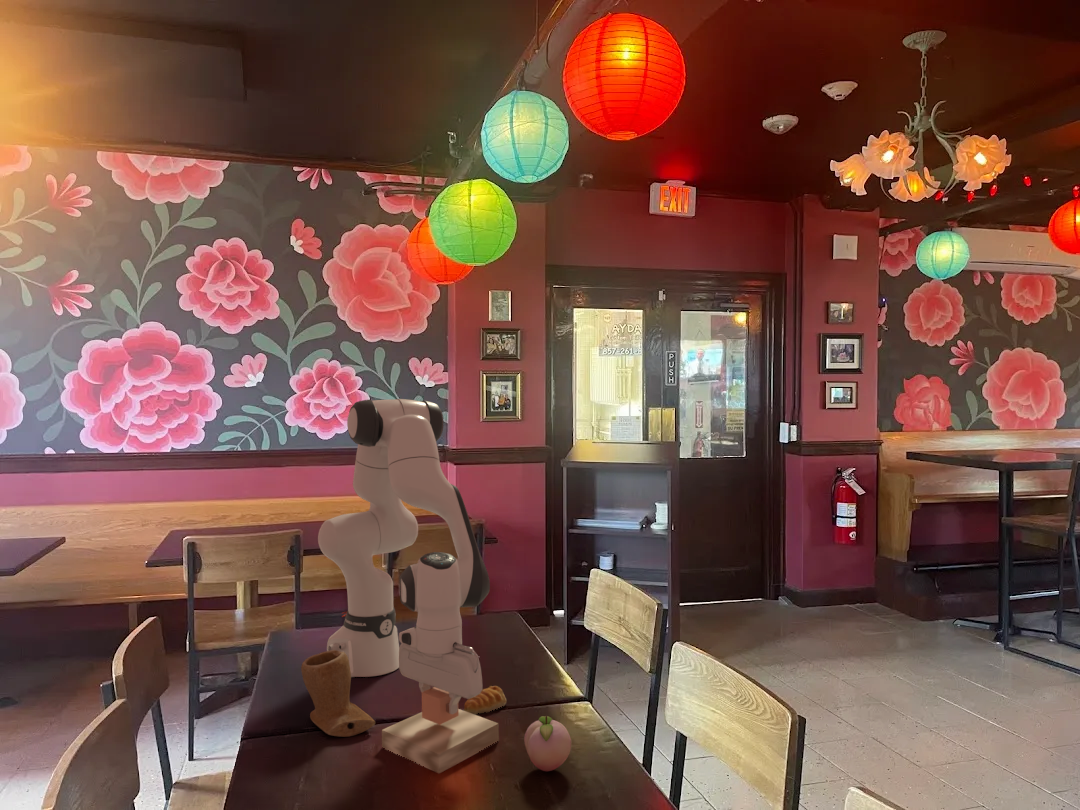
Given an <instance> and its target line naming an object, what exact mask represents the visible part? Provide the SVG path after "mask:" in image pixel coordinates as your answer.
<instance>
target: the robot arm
mask: <svg viewBox="0 0 1080 810" xmlns="http://www.w3.org/2000/svg"><path fill="white" fill-rule="evenodd" d="M346 423H347V424H346V425H347V430H348V436H349V438H350V439H351V440H352V441H353V443H354V444H357V449H356V453H355V454H356V455H355V461H354V463H355V464H354V471H353V480H352V487H353V490H354V492H355V494H356V495H357V496H358V497H359V498H360V499H362V500H364V501H366V502H368V503H369V509H368V510H366V511H361V512H353V513H343V514H341V515H337V516H334V517H332V518H329V519H327V520H325V521H323V522H322V524H321V526H320V528H319V530H318V534H317V542H318V547H319V549H320V551H321V552H322V554H323V555H324V556H325V557H326V558H328V560H330V561H332V562H333V563H334V564H336V566H338V567H339V570H341V572H342V575H343V576H344V579H345V584H346V591H347V610H346V611H344V612H341V614H343V615H341V618H344V621H343V625H342V626H341V627H340V628H339V629H338V630H336V631H335V632H334V633H333V634H331V636H330V637H329V638H328V640H327V644H326V651H331V650H337V651H340V652H345V653H346V655H347V656H348V659H349V665H350V671H351V678H355V677H356V678H357V677H360V678H361V677H363V678H364V677H365V678H368V677H369V678H370V677H377V676H382V675H386V674H390V673H392V672H394V671H396V670H399V672H400V673H401V675H402V676H403V677H405V678H408V679H411V680H413V681H416V682H418V687H419V690H420V692H421V693H422V692H424V691H426V690H428V689H431V688H433V687H436V688H438V689H441V690H444V691H447V692H449V697H451V700H450V703H447V704H446V712H447V713H450V714H455V713H456V712H457V711H458V709H459V702H460V701H461V698H464V699H467V700H468V699H470V698H472V697H475V696H477V695H479V694H480V693H481V691H482V690H483V689H484V688H483V676H482V667H481V662H480V659H479V655H478V654H477V652H476V651H475V650H474V648H473V647H471V646H467V645H464V644H463V628H462V627H463V622H462V621H463V620H462V616H461V613H460V608H476V607H478V606H479V605H480V604H482V603H483V601H484V600H485V599H486V598H487V596H488V595H489V593H490V589H491V582H490V577H489V573H488V572H489V571H488V570H487V567H486V564H485V561H484V560H483V557H482V555H481V553H480V550H479V549H480V548H479V547H478V543H477V540H476V537H475V533H474V530H473V526H472V525H471V521H470V517H469V513H468V511H467V508H466V505H465V502H464V499H463V497H462V495H461V492H460V490H459V488H458V487H457V486H456V485H454V484H453V483H450V482H449V480H448V479H447V478H446V475H445V474H444V472H443V469H442V467H441V462H440V460H441V459H440V455H439V454H440V453H439V449H438V444H437V442H438V441H439V439H440V438H441V436H442V434H443V431H444V415H443V411H442V409H441V408H440V407H439V405H438V404H437V403H434V402H432V401H429V400H428V401H427V400H420V401H419V400H415V399H405V398H395V399H393V398H392V399H376V400H375V399H374V400H371V399H364V400H359V401H356V402H355V403H353V405H352V406H350V409H349V412H348V416H347V421H346ZM403 502H404V503H405V504H407V505H409V506H411V507H413V508H417V509H421V510H425V511H428V512H430V513H433V514H435V515H438V516H439V517H440V518H442V519H443V520H444V521H445V523H446V524H447V526H448V528H449V531H450V535H451V538H452V542H453V545H454V549H455V552H456V554H457V557H455V556H454V555H452V554H451V553H448V552H447V553H446V552H443V551H434V552H429V553H425V554H423V555H421V556H420V557H419V559H418V560H417V563H413V564H410V565H408V566H406V567H405V568H404V570H403V571H402V572H401V574H400V575H399V602H400V604H402V605H403V606H404V607H406V608H407V609H408V610H409V611H410V612H417V618H416V624H415V625H416V626H414V627H411V628H408V629H406V630H402V631H400V632H398V628H397V626H396V625H395V624H396V616H397V615H396V609H395V607H394V581H393V579H392V577H391V575H390V574H389V573H388V572H386V571H385V570H382V569H380V568H378V567H375V565H374V562H373V556H375V555H382V554H388V553H395V552H398V551H400V550H403V549H405V548H407V547H410V546H413V544H414V543H415V542H416V541H417V538H418V535H419V523H418V521H417V518H416V516H415V515H414V514H413V513H412V511H411V510H410V509H408V508H406V506H405V505H404V503H403ZM400 643H401V644H400Z"/></svg>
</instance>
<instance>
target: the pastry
mask: <svg viewBox="0 0 1080 810" xmlns="http://www.w3.org/2000/svg"><path fill="white" fill-rule="evenodd" d="M507 702H508V701H507V698H506V696H505V694H504V691H503V689H502V688H501V687H500V686H498V685H493V686H492V685H489V687H487V688H482V691H481V693H480V694H479V695H477V696H475V697H472V698H470V699H467V700H466V701H465V702H464V704H463V706H464V708H463V711H466V712H469V713H471V714H474V715H479V714H485V713H484V712H486V713H490V711H491V712H493V711H496V710H499V709H501V708H503V707H505V705H506V704H507ZM502 706H503V707H502ZM500 707H501V708H500ZM498 708H499V709H498ZM495 709H496V710H495ZM492 710H493V711H492ZM478 713H479V714H478Z"/></svg>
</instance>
